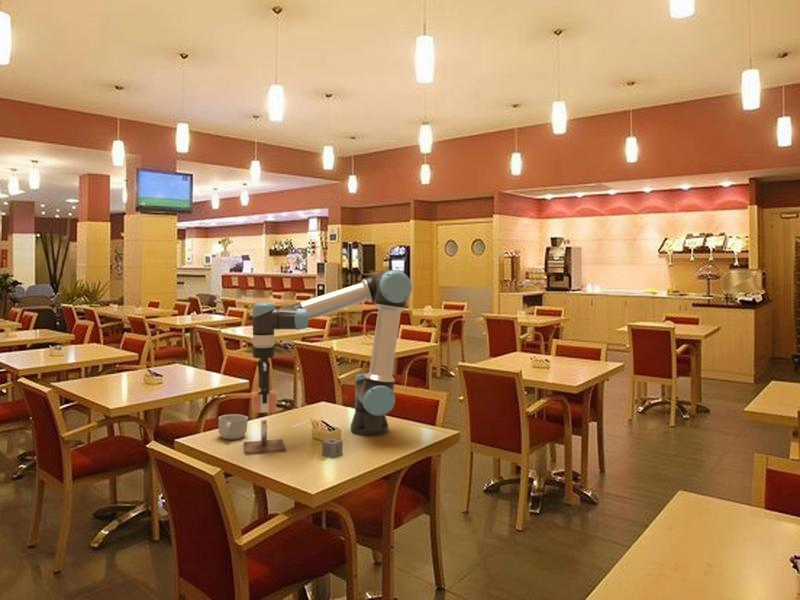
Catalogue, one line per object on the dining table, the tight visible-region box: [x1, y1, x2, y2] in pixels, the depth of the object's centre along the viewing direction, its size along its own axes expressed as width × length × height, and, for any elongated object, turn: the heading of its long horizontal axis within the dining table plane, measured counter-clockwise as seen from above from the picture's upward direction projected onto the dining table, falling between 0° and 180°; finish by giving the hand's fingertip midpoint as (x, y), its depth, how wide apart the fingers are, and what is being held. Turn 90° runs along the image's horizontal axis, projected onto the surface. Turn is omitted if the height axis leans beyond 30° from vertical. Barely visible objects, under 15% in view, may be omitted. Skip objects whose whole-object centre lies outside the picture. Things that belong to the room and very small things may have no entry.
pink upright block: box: [251, 389, 277, 414], centre depth 209 cm, size 8×8×6 cm
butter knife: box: [290, 412, 328, 429], centre depth 249 cm, size 1×27×3 cm
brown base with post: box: [243, 419, 287, 456], centre depth 210 cm, size 14×12×10 cm
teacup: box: [218, 413, 249, 441], centre depth 221 cm, size 14×11×8 cm
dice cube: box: [321, 437, 344, 459], centre depth 203 cm, size 5×5×5 cm
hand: (263, 409), depth 210 cm, fingers closed on pink upright block, 8 cm apart
